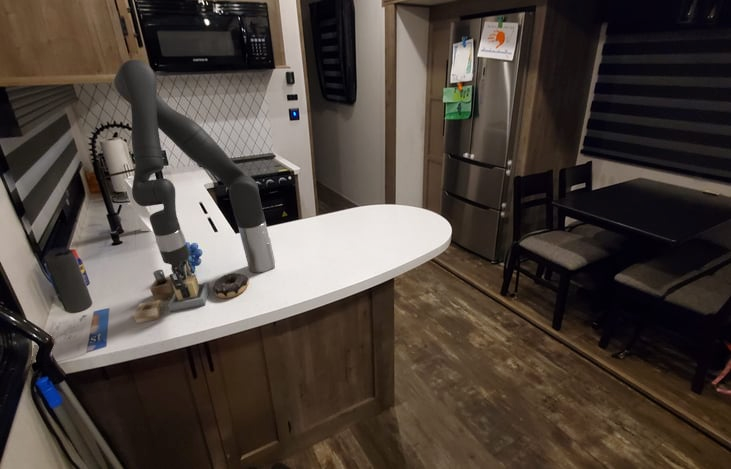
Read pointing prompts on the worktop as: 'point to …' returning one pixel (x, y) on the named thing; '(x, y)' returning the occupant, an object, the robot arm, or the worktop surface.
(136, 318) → the stand
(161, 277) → the cylinder
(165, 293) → the block
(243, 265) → the worktop surface
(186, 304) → the tray
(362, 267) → the worktop surface
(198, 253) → the grapes
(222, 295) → the donut
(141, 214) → the skyscraper
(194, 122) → the robot arm
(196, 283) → the block
